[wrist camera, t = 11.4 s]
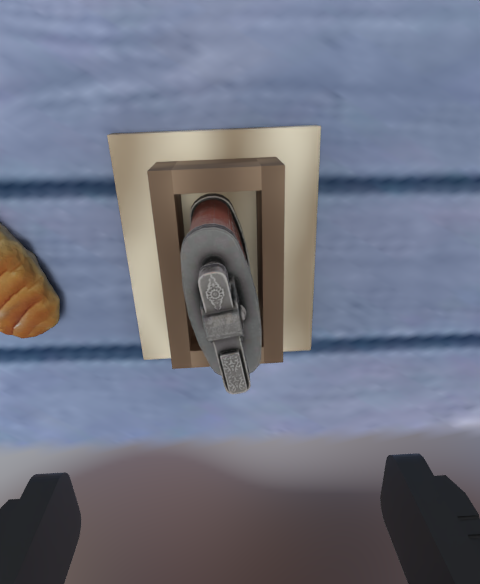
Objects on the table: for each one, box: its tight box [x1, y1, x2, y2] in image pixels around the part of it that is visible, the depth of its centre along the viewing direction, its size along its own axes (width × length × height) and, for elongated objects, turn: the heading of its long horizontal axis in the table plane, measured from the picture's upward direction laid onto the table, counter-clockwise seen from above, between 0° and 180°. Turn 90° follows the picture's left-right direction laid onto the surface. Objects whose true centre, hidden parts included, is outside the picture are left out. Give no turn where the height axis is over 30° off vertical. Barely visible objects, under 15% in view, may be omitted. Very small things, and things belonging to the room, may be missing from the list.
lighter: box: [180, 193, 262, 394], centre depth 21 cm, size 8×3×10 cm, turn 11°
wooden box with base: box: [107, 125, 321, 369], centre depth 25 cm, size 12×15×5 cm
